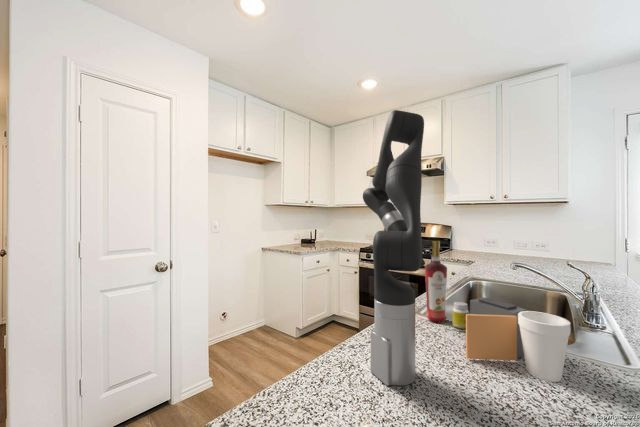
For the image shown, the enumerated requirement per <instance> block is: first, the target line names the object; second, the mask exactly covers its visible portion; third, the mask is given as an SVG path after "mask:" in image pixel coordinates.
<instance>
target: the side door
mask: <svg viewBox="0 0 640 427" xmlns="http://www.w3.org/2000/svg"><path fill="white" fill-rule="evenodd" d="M465 357H466V358H465V359H469V360H490V361H491V360H493V361H495V360H496V361H511V362H512V361H513V362H515V361H516V362H517V361H518V359H517V317H516V316H511V315H479V314H470V313H469V314H466V332H465Z"/></svg>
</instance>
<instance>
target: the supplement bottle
mask: <svg viewBox="0 0 640 427" xmlns="http://www.w3.org/2000/svg"><path fill="white" fill-rule="evenodd" d="M466 314H470V310H468V303H467V302H464V301H454V302H453V308H452V329H453V330H455V331H457V332H461V333H462V332H463V333H466Z"/></svg>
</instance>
